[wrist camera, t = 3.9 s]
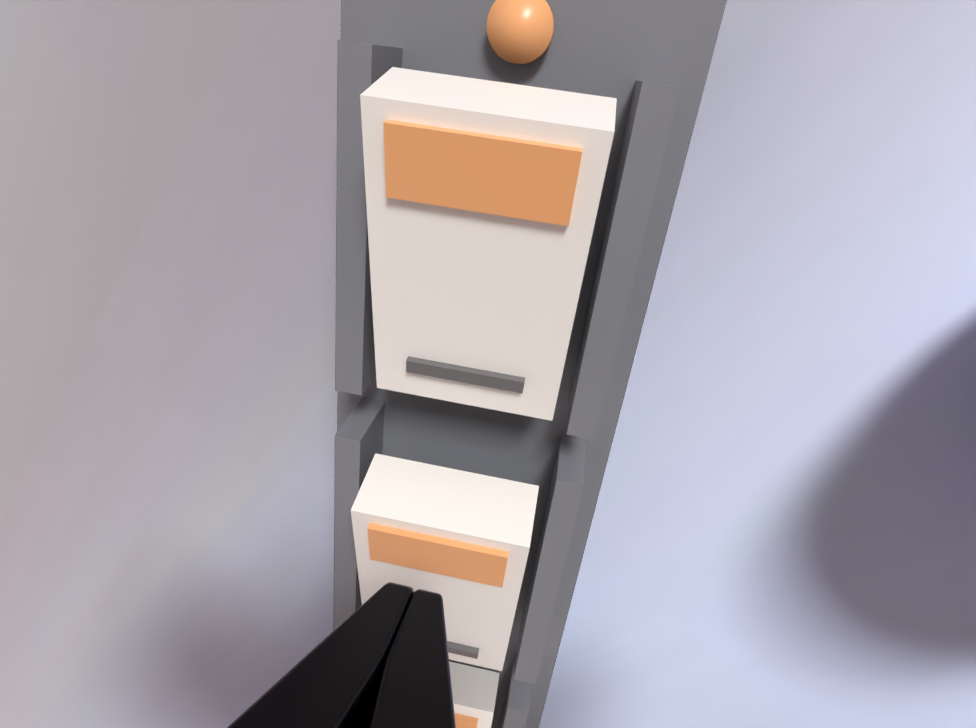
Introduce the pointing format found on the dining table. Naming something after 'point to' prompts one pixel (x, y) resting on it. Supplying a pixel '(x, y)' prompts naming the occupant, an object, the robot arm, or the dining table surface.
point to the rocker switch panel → (604, 291)
